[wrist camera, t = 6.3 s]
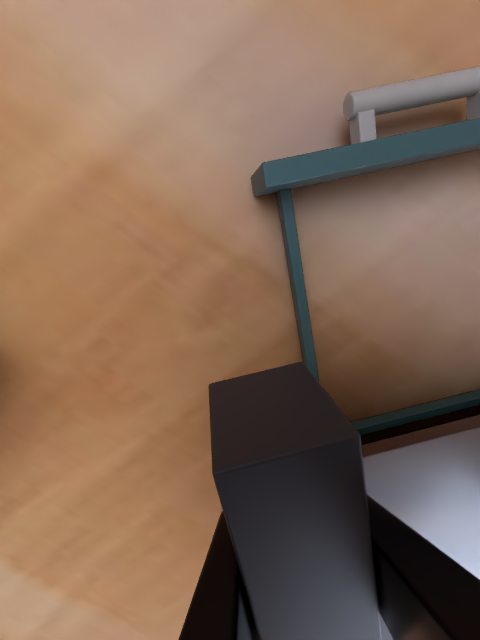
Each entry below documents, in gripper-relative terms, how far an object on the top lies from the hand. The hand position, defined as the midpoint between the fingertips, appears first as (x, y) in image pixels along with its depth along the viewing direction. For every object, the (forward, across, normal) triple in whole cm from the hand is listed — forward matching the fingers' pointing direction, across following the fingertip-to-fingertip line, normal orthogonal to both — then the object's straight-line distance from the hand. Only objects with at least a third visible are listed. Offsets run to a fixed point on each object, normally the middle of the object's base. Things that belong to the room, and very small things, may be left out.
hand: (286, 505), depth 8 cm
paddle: (+1, 0, +2) cm, 3 cm away
